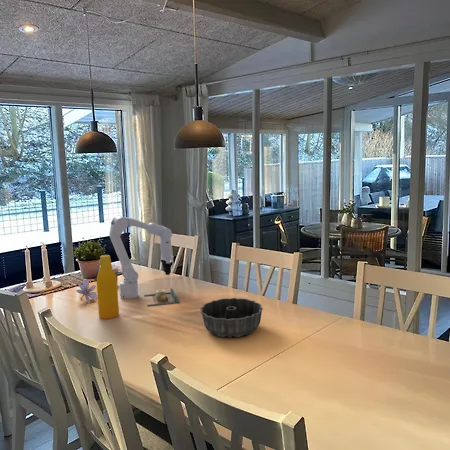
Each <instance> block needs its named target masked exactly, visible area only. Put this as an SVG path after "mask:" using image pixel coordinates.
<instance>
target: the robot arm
mask: <svg viewBox="0 0 450 450" xmlns="http://www.w3.org/2000/svg"><path fill="white" fill-rule="evenodd" d="M131 227H136V228H140V229H143V230H146V232H147V233H148V234H151V235H153V236H157V237H160V238H159V241H160V263H161V265H162V269H163V273H164V274H165V275H166V276H169V275H170V274H171V269H172V266H173V261H171V260H172V259H174V255H172V241H171V239H172V238H171V237H172V236H173V232H172V230H171V228H168V227H165V226H164V225H160V224H157V223H156V222H154V221H153V222H149V223H146V222H144V221H140V220H137V219H135V218H132V217H128V216H127V217H126V216H122V215H115V216H114V217H113V218H112V220H111V222H110V229H109V234H108V236H109V238H110V241H111V243H112V245H113V248H114V250H115V253H116V256H117V258H118V260H119V263H120V265H121V270H122V276H123V278H124V279H123V281H120V282H119V289H120V290H119V296H120V299H121V300H123V299H133V298H137V297H139V287H138V285H139V284H138V280H139V274H138V271H136V270H135V268H134V266H133V265H132V263H131V260H130V259H129V258H130V257H129V256H128V253H127V250H126V248H125V245H124V243H123V241H122V238H121V236H122V234H123V232H124V231H125V230H126V229H127V228H131Z"/></svg>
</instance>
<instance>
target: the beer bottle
mask: <svg viewBox="0 0 450 450" xmlns="http://www.w3.org/2000/svg"><path fill="white" fill-rule="evenodd" d="M99 269H100V270H99ZM99 269H98V273H97V276H96V288H97V291H96V293H97V295H98V298H97V304H98V305H97V306H98V307H97V308H98V317H99V318H100V319H102V320H103V319H104V320H110V319H111V320H112V319H115V318H117V317H118V316H119V314H120V308H119V307H120V306H119V296H118V295H119V293H118V279H117V277H116V274H115V272H114V271H113V270H114V268H113V266H112V260H111V255H109V254H103V255H100V262H99Z"/></svg>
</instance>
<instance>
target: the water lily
mask: <svg viewBox="0 0 450 450" xmlns="http://www.w3.org/2000/svg"><path fill="white" fill-rule="evenodd" d="M77 285H78V287H79V289H75V290H76V291H75V292H76V293H78V294H79V295H82V296H81V297H80V300H82V299H83V298H84V299H85V301H86V302H87V303H88V304H90V303H91V299H93V300H96V301H97V299H98V293H97V291H94V290H95V289H96V288H97V285H91V286H90V281H89V280H87V281H86V280H85V279H83V280H82V283H80V282H77Z"/></svg>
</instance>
